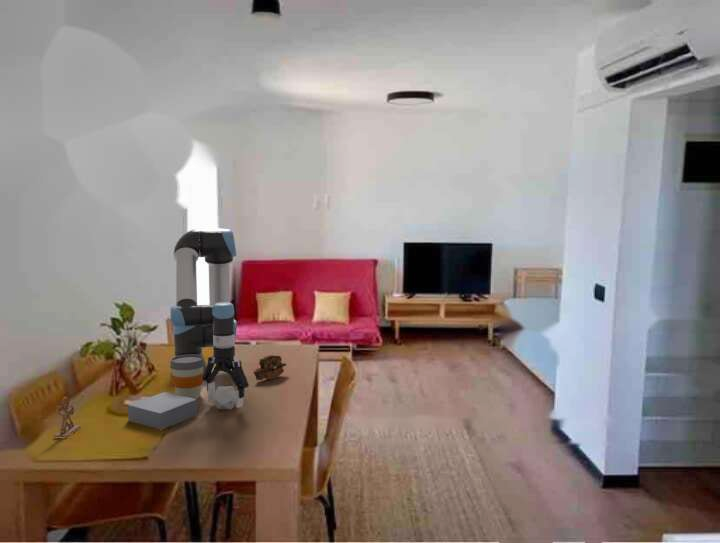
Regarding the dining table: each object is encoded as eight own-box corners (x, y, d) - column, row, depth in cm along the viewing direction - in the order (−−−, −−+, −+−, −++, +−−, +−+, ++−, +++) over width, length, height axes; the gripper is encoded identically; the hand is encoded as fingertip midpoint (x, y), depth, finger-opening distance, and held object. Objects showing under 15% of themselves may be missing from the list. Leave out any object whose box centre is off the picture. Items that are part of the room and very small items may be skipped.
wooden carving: (260, 384, 235) (259, 361, 234) (252, 382, 238) (252, 359, 237) (288, 375, 248) (288, 352, 247) (280, 373, 251) (280, 351, 250)
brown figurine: (69, 427, 189) (67, 392, 188) (80, 428, 189) (78, 393, 187) (53, 438, 180) (51, 401, 179) (65, 439, 180) (62, 402, 179)
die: (225, 415, 202) (240, 392, 204) (205, 402, 203) (220, 379, 205) (229, 415, 210) (244, 393, 212) (210, 403, 211) (225, 380, 213)
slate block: (128, 421, 196) (127, 404, 195) (165, 407, 209) (165, 391, 209) (160, 431, 188) (160, 413, 187) (197, 415, 201) (196, 399, 201)
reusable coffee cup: (211, 396, 220) (210, 358, 219) (182, 404, 211) (180, 365, 210) (194, 389, 229) (193, 352, 227) (165, 396, 220) (163, 358, 218)
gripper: (191, 343, 208) (193, 400, 211) (243, 352, 196) (244, 412, 198) (206, 339, 215) (207, 394, 217) (257, 347, 202) (258, 405, 205)
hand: (225, 403), depth 208 cm, fingers open, 13 cm apart
